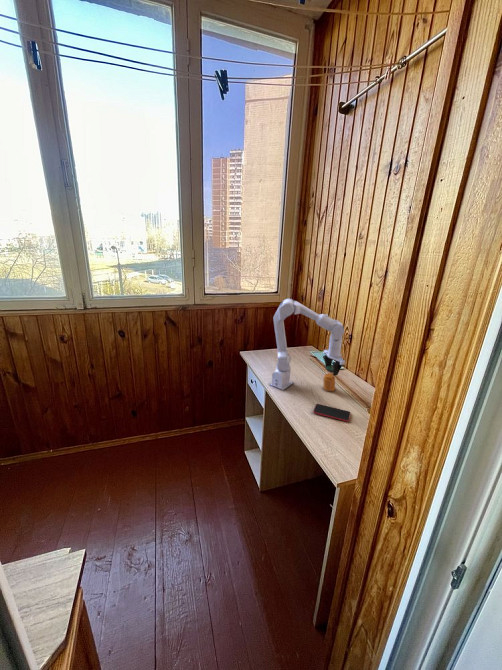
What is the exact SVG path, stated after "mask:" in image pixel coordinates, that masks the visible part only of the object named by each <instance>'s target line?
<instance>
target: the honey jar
mask: <svg viewBox="0 0 502 670" xmlns="http://www.w3.org/2000/svg"><path fill="white" fill-rule="evenodd" d="M322 379H323V391H326V392H334V391H335V390H336V377H335V376H334V375H333V373H326V374H324V376H323V377H322Z"/></svg>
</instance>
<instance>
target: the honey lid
mask: <svg viewBox="0 0 502 670" xmlns="http://www.w3.org/2000/svg"><path fill="white" fill-rule="evenodd" d="M325 370H326V371H327V372H329V373H331V374H333V364H331V365H328V366H327V367H326V366H325Z"/></svg>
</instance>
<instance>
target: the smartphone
mask: <svg viewBox="0 0 502 670" xmlns="http://www.w3.org/2000/svg"><path fill="white" fill-rule="evenodd" d="M312 411H313V414H314V415H315V414H316V415H319V416H324V417H327V418H330V419H334V420H340V421H342V422H347V423H348V422H349V421H350V418H351V411H349V410H345V409H341V408H337V407H334V406H329V405H325V404H321V403H316V404H315V406H314V408H313V410H312Z"/></svg>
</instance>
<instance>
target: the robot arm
mask: <svg viewBox="0 0 502 670" xmlns="http://www.w3.org/2000/svg"><path fill="white" fill-rule="evenodd" d="M299 314H300V315H303V316H305V317H307V318H309V319H311V320H313V321H315V323H316V325H317V326H319V327H320V328H322V329H324V330H325V331H328V332H330V336H329V341H328V349H323V356H322V359H323V360H324V365H325V368H326V367H327V366H328V365H333V373H332V374H333V375H334V377H335V376H338V375H339V373H340V370H342V367H343V366H345V364H346V361H345V360H344V359H343V357H342V356H343V355H342V352H341V351H342V344H343V336H344V334H345V327H344V325H343V323H342V322H341V321H340V320H338V319H334V318H331V317H330V316H329V315H328V314H327V313H325V314H324V313H321V314H319V313H317V312H315V311H314V310H312V309H310V308H309V307H307V306H306V305H304V304H302V303H300V302H299V301H297V300H294V299H293V298H285V299H283V300H282V301H281V302H280V304H279V306H278V307H277V310H276V311H275V313H274V315H273V317H272V319H273V327H274V333H275V342H276V347H277V363H276V367H275V370H274V372H273V373H272V375H271V377H272V378H271V383H270V386H273V387H275V388H277V389H279V390H282V391H284V390H286V388H288V387H290V386H291V385H293V381H291V369H292V368H291V365H290V364H291V360H292V358H291V355H290V354H289V350H288V345H287V336H286V330H285V322H284V321H285V320H286V319H287V318H288V317H290V316H291V315H299Z"/></svg>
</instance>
